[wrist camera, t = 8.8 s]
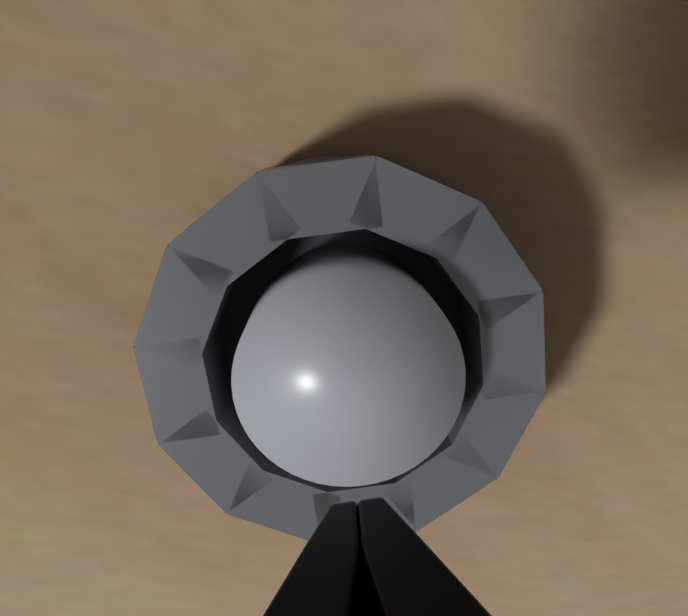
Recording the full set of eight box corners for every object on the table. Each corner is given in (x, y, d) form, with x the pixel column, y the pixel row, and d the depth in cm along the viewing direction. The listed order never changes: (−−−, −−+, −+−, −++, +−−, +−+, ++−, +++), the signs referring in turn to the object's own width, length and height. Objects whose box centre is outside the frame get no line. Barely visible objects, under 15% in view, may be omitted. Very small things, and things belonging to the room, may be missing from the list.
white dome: (432, 233, 17) (458, 256, 13) (444, 412, 18) (471, 472, 15) (234, 257, 17) (211, 286, 13) (265, 434, 18) (251, 498, 15)
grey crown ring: (503, 132, 16) (542, 128, 14) (518, 460, 20) (552, 515, 17) (131, 182, 16) (89, 190, 14) (206, 501, 20) (185, 564, 17)
